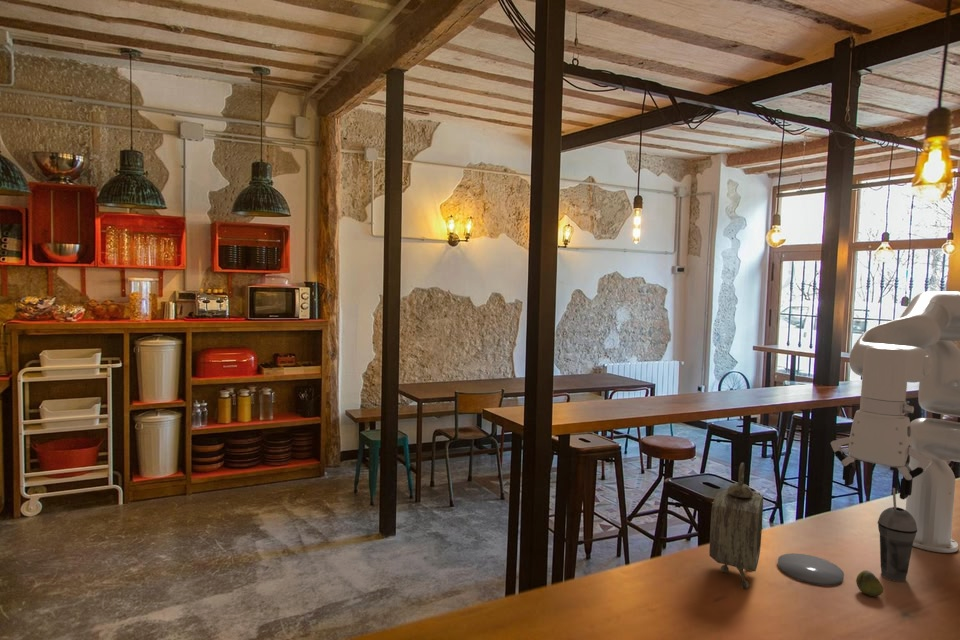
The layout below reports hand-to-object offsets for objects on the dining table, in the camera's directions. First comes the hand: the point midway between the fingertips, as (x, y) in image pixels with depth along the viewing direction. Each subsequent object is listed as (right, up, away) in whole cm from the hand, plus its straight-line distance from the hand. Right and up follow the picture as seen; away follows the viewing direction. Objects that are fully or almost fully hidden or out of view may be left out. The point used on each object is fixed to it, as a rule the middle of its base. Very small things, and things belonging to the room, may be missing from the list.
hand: (875, 491), depth 122 cm
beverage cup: (+11, -23, +11) cm, 28 cm away
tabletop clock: (-24, -22, +10) cm, 34 cm away
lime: (+1, -23, +3) cm, 23 cm away
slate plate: (-6, -22, +13) cm, 26 cm away
